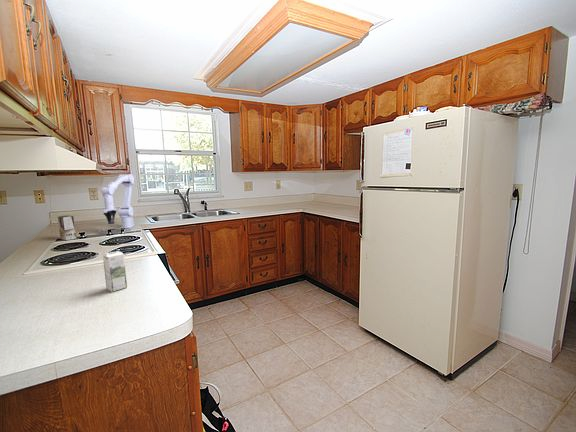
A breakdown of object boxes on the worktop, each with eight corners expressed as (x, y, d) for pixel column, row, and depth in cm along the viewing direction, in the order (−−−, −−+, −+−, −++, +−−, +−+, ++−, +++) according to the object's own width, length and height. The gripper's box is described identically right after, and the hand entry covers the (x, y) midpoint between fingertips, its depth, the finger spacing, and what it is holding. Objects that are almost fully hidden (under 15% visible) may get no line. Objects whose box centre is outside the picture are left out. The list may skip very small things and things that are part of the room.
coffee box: (76, 238, 203) (73, 215, 200) (66, 240, 197) (62, 217, 195) (70, 237, 207) (67, 214, 205) (60, 239, 202) (56, 216, 199)
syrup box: (121, 284, 119) (117, 250, 117) (127, 287, 115) (124, 252, 113) (106, 288, 115) (102, 253, 112) (112, 292, 111) (107, 256, 109)
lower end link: (109, 231, 226) (109, 229, 226) (130, 230, 228) (130, 228, 228) (102, 233, 216) (102, 231, 216) (124, 233, 218) (124, 231, 218)
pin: (109, 223, 223) (108, 214, 221) (115, 222, 223) (114, 213, 222) (107, 224, 219) (105, 214, 217) (112, 223, 219) (111, 214, 218)
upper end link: (103, 231, 226) (103, 228, 226) (122, 230, 227) (122, 227, 227) (96, 234, 216) (96, 230, 216) (116, 233, 217) (116, 230, 217)
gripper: (108, 202, 225) (110, 219, 227) (98, 204, 211) (100, 222, 213) (117, 201, 226) (119, 219, 228) (108, 204, 211) (110, 222, 214)
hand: (111, 220), depth 220 cm, fingers closed on pin, 4 cm apart
